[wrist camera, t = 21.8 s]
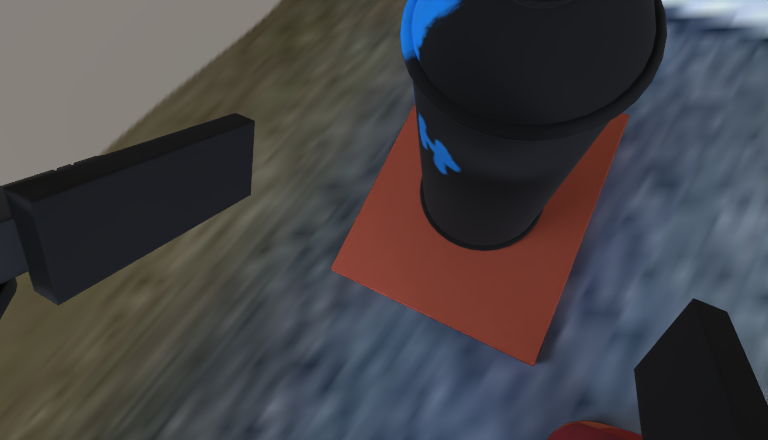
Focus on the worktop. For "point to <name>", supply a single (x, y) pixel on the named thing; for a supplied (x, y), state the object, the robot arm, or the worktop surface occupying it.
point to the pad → (473, 251)
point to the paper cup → (591, 432)
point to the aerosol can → (517, 101)
